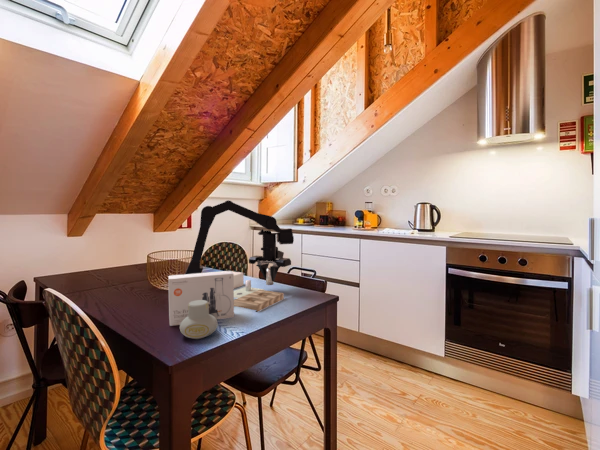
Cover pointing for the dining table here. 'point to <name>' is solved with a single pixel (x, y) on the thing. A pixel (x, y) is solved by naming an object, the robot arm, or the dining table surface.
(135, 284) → the dining table surface
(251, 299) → the hole board
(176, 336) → the dining table surface
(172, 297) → the skincare box
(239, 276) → the white rectangular block
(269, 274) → the pin
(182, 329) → the air freshener
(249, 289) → the plate
